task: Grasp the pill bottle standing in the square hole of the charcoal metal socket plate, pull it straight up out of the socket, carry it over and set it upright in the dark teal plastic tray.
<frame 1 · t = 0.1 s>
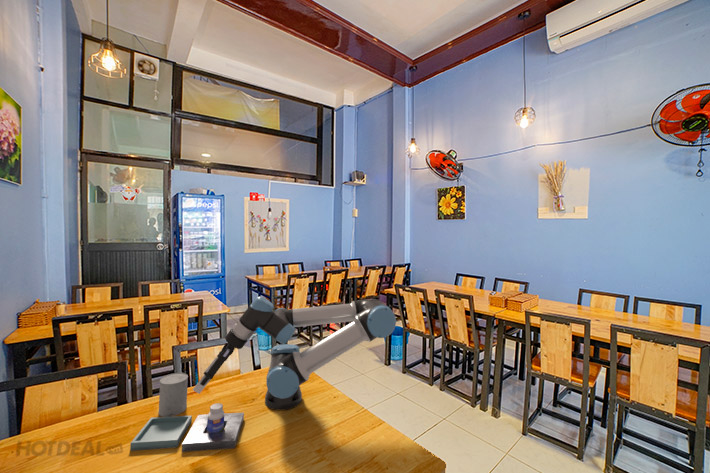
hand: (202, 381, 113), 15 cm above the table, tool tilted 35°, fingers open, 13 cm apart
socket plate: (215, 434, 107), on the table
pill bottle: (215, 434, 107), resting in socket plate
gray cylinder: (172, 410, 121), on the table
tray: (163, 435, 105), on the table
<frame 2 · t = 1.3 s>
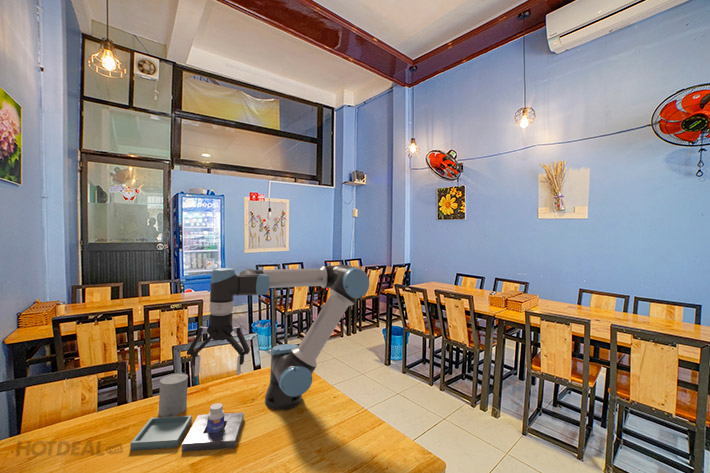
hand: (217, 374, 107), 21 cm above the table, tool pointing down, fingers open, 13 cm apart
nothing on the table moved.
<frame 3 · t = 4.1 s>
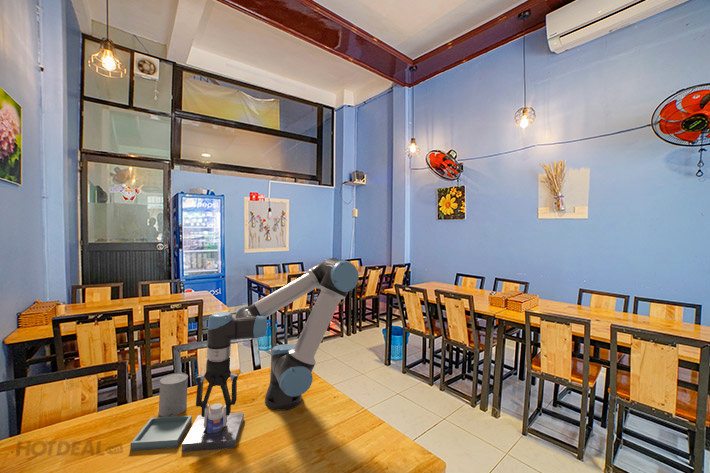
hand: (215, 424, 107), 3 cm above the table, tool pointing down, fingers closed on pill bottle, 5 cm apart
pill bottle: (215, 434, 107), resting in socket plate, touching gripper
everything else where it was.
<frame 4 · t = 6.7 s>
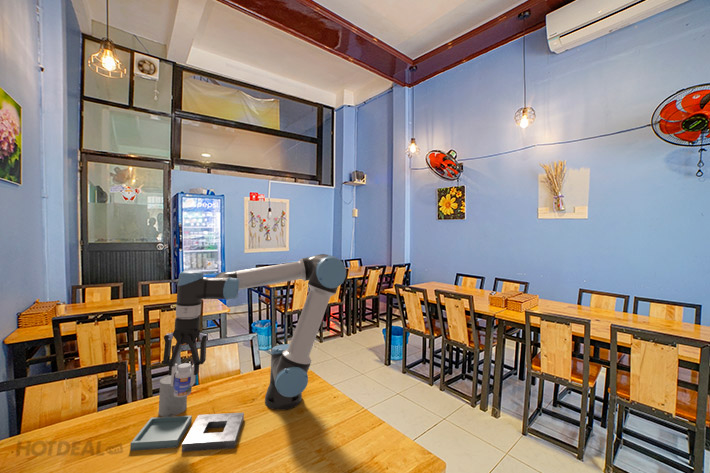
hand: (183, 384, 106), 18 cm above the table, tool pointing down, fingers closed on pill bottle, 5 cm apart
pill bottle: (182, 394, 106), point 14 cm above the table, touching gripper
everything else where it was.
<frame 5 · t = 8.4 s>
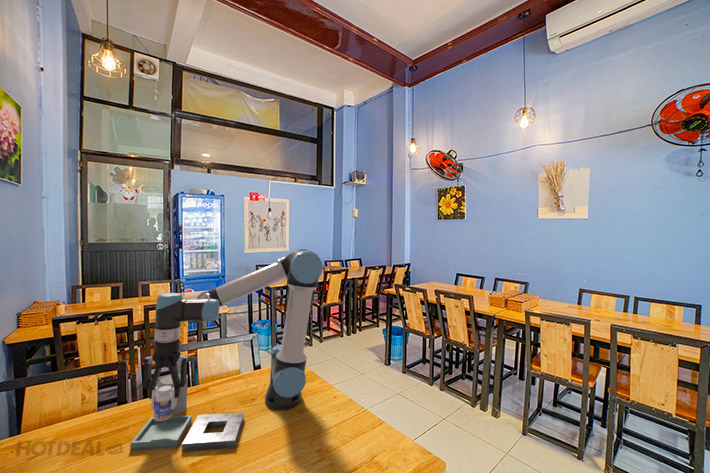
hand: (164, 407, 105), 10 cm above the table, tool pointing down, fingers closed on pill bottle, 5 cm apart
pill bottle: (163, 417, 105), point 6 cm above the table, touching gripper
everything else where it was.
when the fingers open (6 cm above the table, at t = 9.8 s): pill bottle drops 1 cm, resting on tray.
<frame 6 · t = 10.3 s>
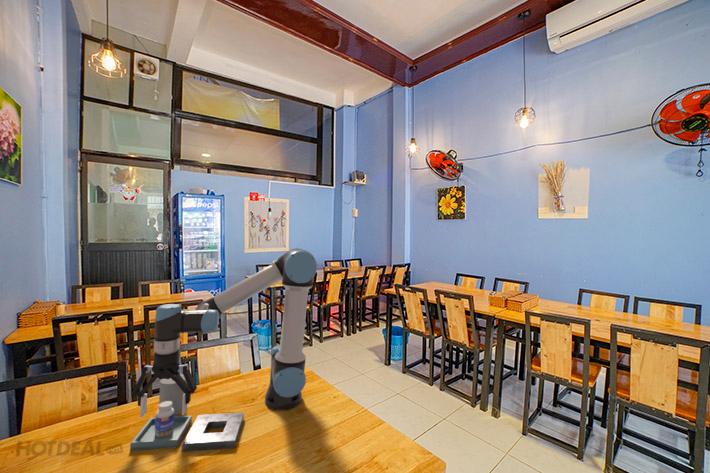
hand: (164, 413, 105), 7 cm above the table, tool pointing down, fingers open, 12 cm apart
pill bottle: (164, 433, 106), point 1 cm above the table, touching tray
everything else where it was.
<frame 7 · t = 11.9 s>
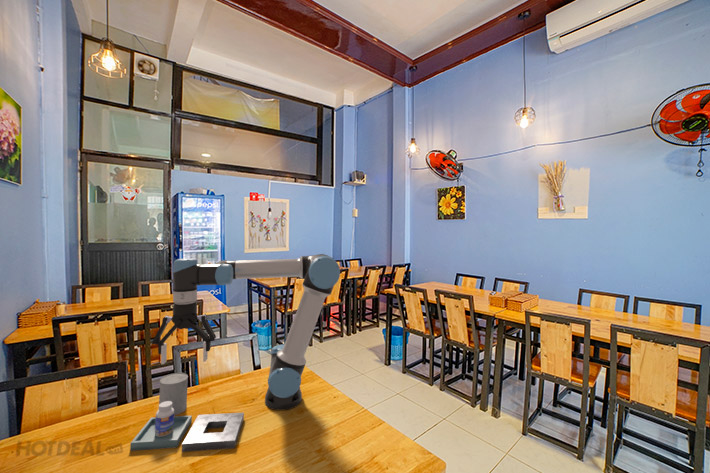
hand: (184, 361, 110), 23 cm above the table, tool pointing down, fingers open, 13 cm apart
nothing on the table moved.
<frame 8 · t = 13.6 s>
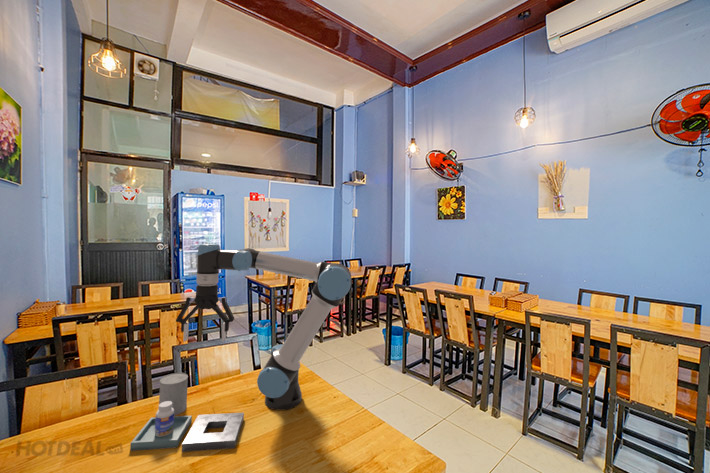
hand: (204, 340, 118), 29 cm above the table, tool pointing down, fingers open, 13 cm apart
nothing on the table moved.
at the end: pill bottle inside the target area on the tray (0.3 cm from its centre), point 0.8 cm above the tray's base; pill bottle tilted 0°; the gripper is holding nothing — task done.
